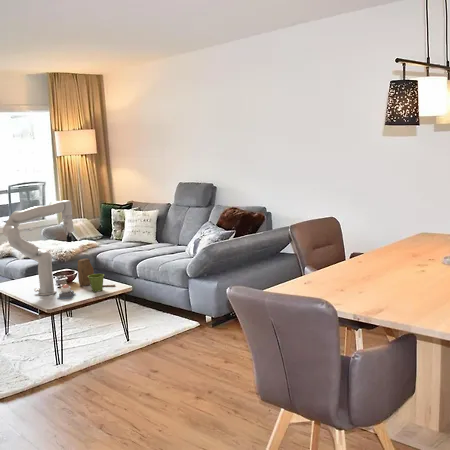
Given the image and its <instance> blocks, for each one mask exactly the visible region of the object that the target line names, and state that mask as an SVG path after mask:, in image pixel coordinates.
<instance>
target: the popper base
mask: <svg viewBox="0 0 450 450" xmlns="http://www.w3.org/2000/svg"><path fill="white" fill-rule="evenodd" d="M75 296H76V293H75V292H74V289H73V290H72V289H71V291H70V292H69V293H62V292H58V296H57V300H65V299H66V300H67V299H69V300H70V299H71V300H72V299H73V298H74V297H75Z"/></svg>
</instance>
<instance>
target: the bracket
mask: <svg viewBox="0 0 450 450" xmlns="http://www.w3.org/2000/svg"><path fill="white" fill-rule="evenodd" d="M109 287H113V288H115V287H116V284H103V288H109Z"/></svg>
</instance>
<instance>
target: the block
mask: <svg viewBox="0 0 450 450" xmlns="http://www.w3.org/2000/svg"><path fill="white" fill-rule="evenodd" d="M90 260H91V259H90V258H81V259H78V260H77V278H78V284H79V285H80V286H81V287H86V286H91V284H90V280H89V277H88V276H89V275H92V274H95V271H94V267H93V265H92V263H91V262H90Z"/></svg>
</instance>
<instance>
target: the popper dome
mask: <svg viewBox="0 0 450 450" xmlns="http://www.w3.org/2000/svg"><path fill="white" fill-rule="evenodd" d="M71 288H72V287H71V286H70V285H69V284H67V283H66V284H63V285H62V287H60V290H61V292H62V293H69V292H70V291H71V290H72V289H71Z"/></svg>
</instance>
